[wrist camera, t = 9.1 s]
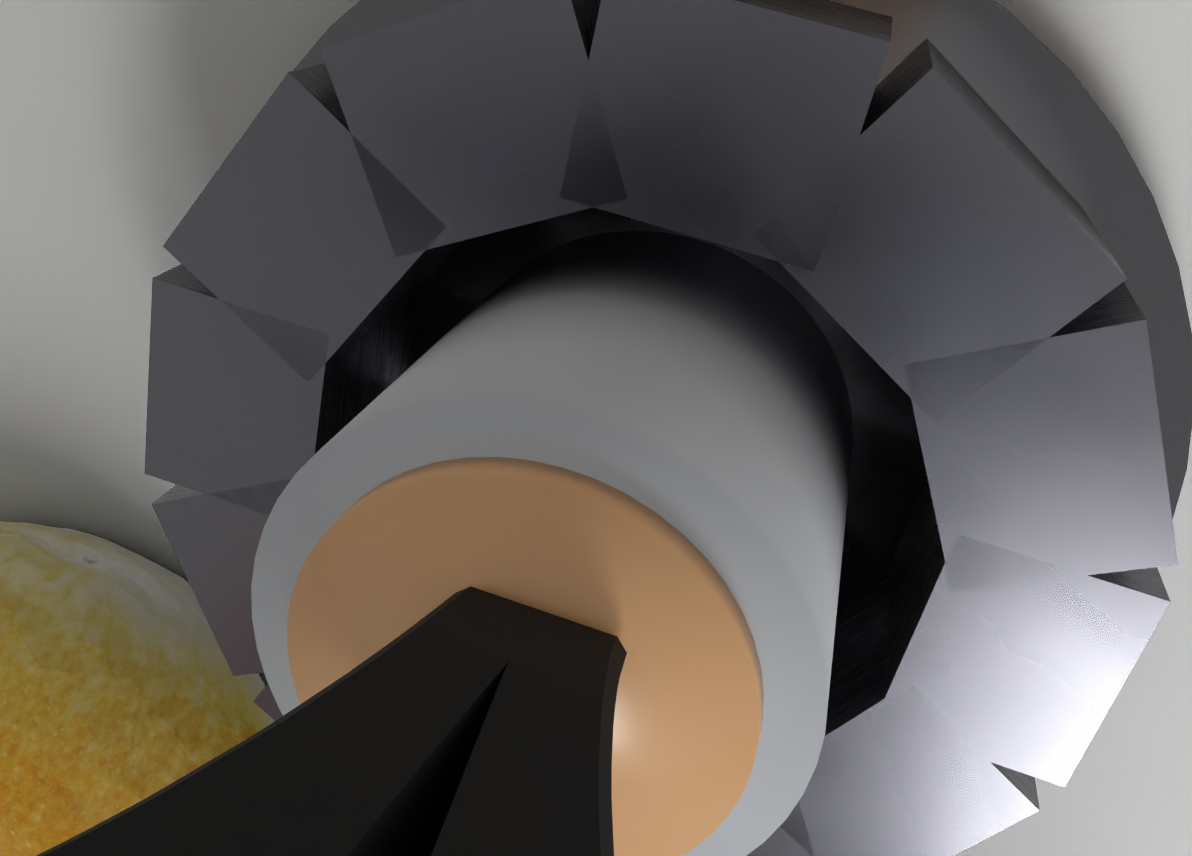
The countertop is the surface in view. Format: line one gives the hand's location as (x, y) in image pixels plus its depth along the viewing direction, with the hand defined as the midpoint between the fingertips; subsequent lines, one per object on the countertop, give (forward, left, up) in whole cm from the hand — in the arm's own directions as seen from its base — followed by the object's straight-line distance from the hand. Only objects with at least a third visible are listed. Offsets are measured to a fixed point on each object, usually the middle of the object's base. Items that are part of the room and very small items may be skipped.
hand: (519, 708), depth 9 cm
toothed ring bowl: (0, 0, -6) cm, 6 cm away
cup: (0, 0, -5) cm, 5 cm away
